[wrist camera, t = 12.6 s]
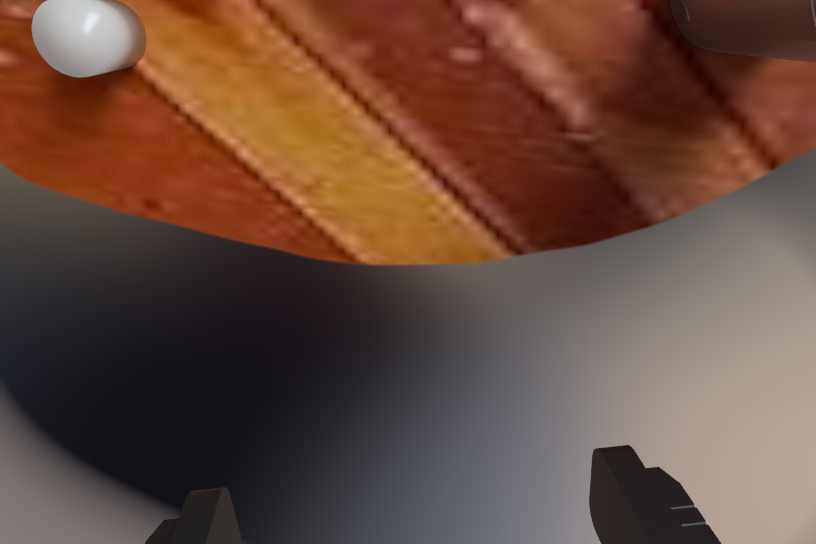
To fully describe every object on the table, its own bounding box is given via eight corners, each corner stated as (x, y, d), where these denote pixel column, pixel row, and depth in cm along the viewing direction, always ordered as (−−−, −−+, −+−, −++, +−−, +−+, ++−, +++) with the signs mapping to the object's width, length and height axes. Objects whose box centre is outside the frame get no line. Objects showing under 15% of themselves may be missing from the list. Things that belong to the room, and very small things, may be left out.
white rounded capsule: (136, -4, 38) (99, -8, 33) (153, 66, 40) (121, 73, 35) (69, 1, 38) (20, -1, 33) (89, 71, 40) (46, 80, 35)
